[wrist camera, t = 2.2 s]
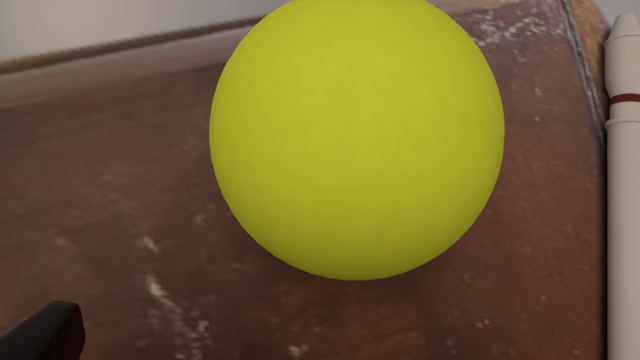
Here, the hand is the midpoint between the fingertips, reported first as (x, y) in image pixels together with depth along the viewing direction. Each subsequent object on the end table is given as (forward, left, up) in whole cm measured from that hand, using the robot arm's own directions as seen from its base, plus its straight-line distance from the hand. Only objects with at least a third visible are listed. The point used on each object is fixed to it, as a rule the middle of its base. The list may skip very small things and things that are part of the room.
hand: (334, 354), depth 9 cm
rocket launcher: (-11, -2, -10) cm, 15 cm away
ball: (-1, -5, -3) cm, 6 cm away
